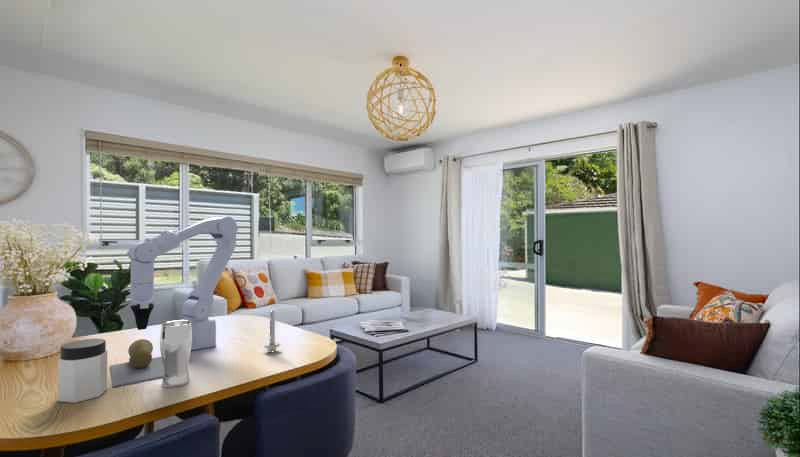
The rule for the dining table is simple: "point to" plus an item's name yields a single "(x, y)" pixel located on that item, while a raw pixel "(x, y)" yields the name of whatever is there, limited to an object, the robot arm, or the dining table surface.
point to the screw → (272, 335)
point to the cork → (140, 353)
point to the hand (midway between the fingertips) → (141, 329)
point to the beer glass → (175, 352)
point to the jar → (82, 370)
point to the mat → (136, 373)
